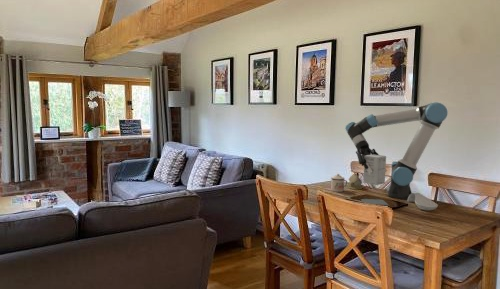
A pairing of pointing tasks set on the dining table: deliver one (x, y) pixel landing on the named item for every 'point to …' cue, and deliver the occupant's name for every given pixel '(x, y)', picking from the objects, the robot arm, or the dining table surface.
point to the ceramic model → (355, 182)
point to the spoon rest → (422, 202)
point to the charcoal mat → (375, 201)
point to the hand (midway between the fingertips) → (378, 172)
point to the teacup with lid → (338, 183)
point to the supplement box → (375, 169)
